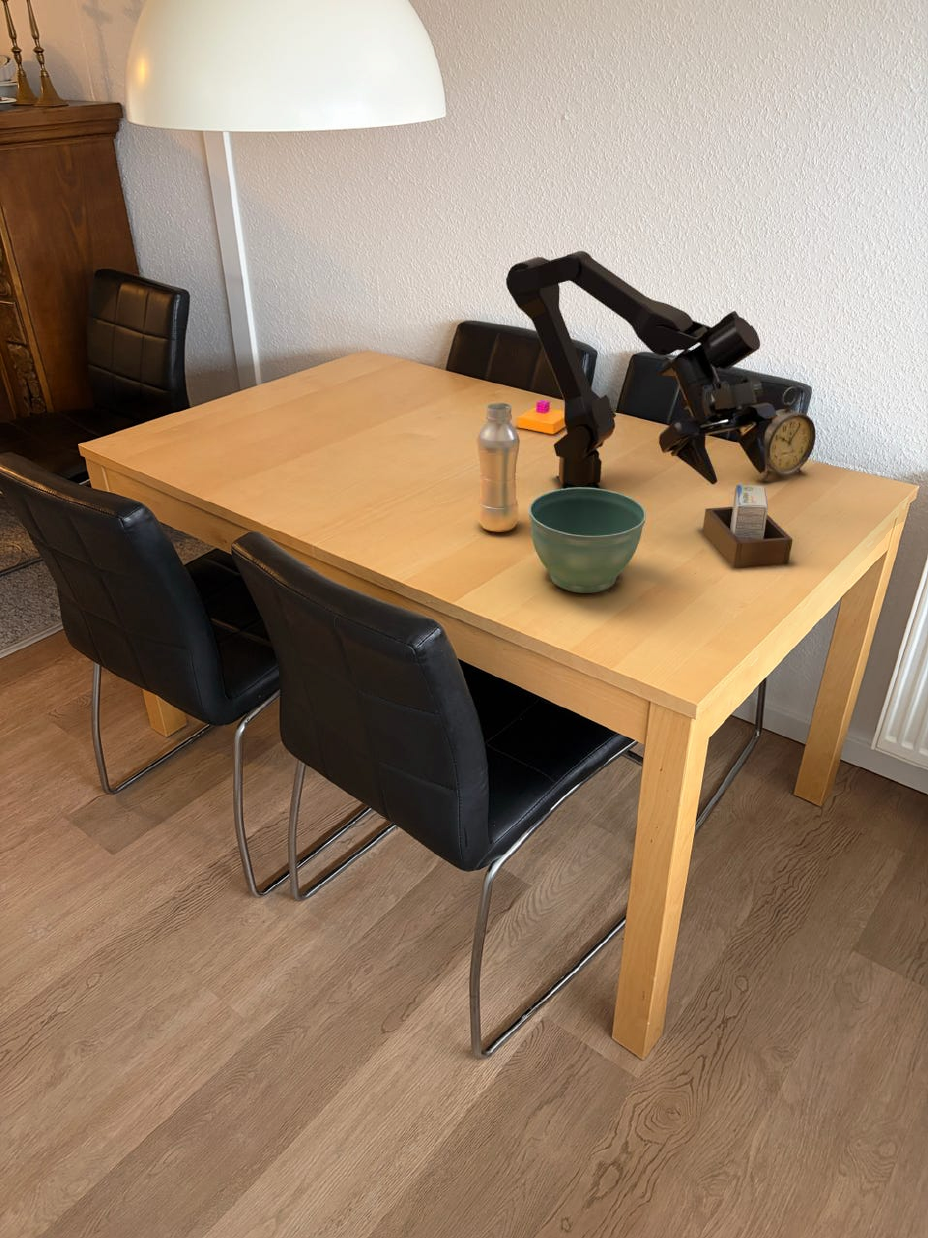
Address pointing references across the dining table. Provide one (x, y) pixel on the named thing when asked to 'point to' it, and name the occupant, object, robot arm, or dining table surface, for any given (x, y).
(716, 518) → the wooden box
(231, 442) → the dining table surface
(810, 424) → the alarm clock
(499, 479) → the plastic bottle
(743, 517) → the medicine box
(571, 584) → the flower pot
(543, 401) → the orange slab
